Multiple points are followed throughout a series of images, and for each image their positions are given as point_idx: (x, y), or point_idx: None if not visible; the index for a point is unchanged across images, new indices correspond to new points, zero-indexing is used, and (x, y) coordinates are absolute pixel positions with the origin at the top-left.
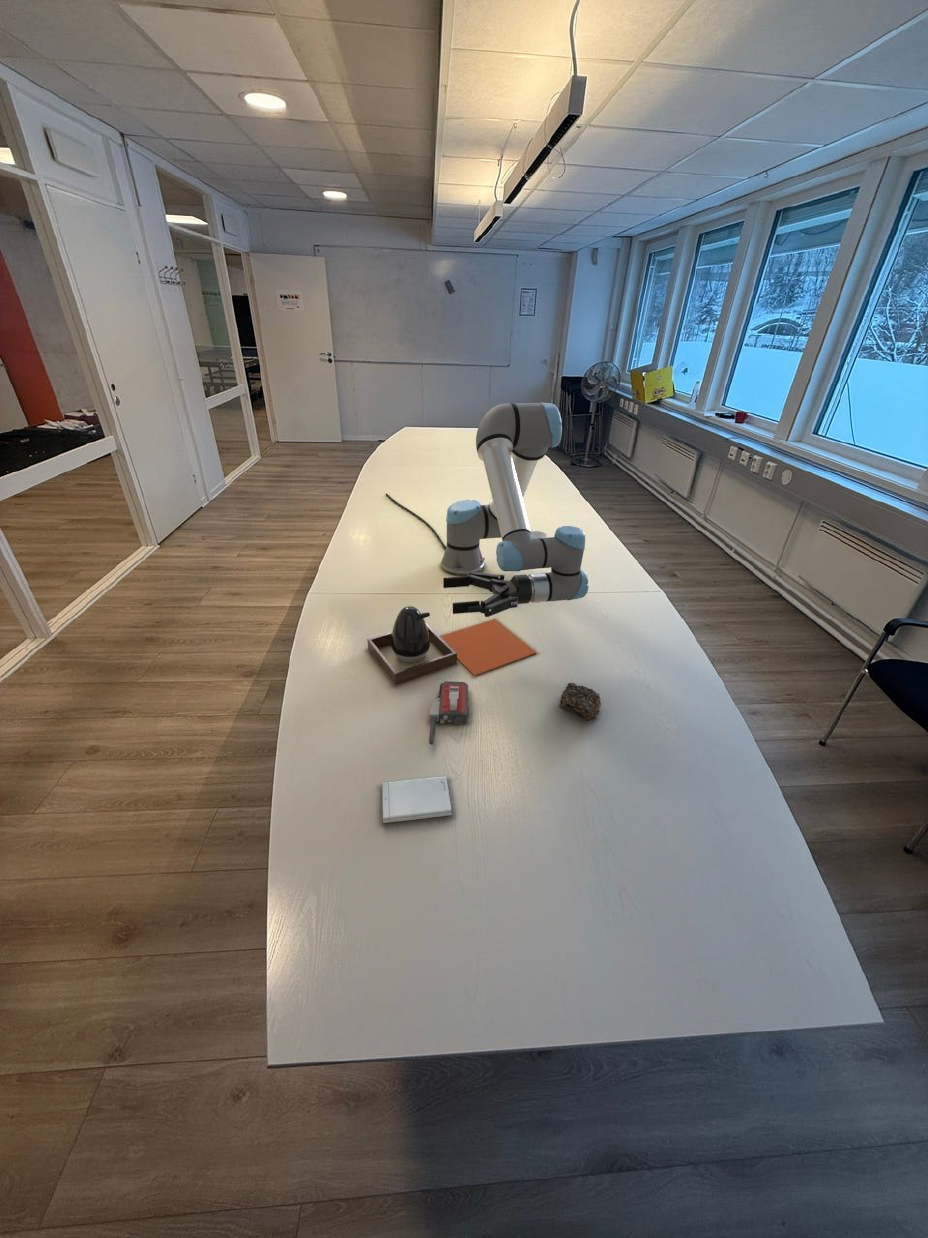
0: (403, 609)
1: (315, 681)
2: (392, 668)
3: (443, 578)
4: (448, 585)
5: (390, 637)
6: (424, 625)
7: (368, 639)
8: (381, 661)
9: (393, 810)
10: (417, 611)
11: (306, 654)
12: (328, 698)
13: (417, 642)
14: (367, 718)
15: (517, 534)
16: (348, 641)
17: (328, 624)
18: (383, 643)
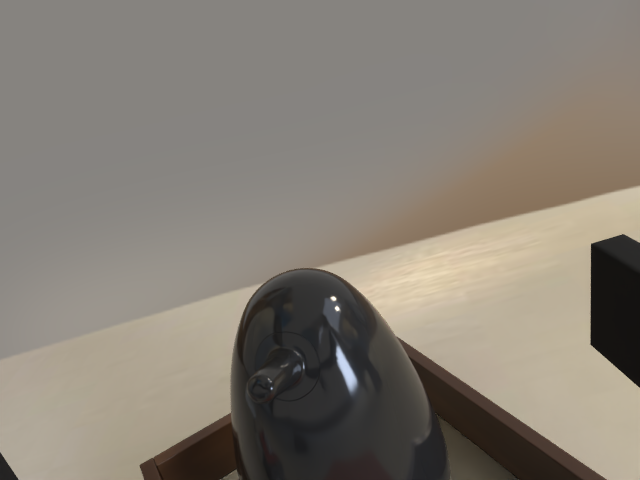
0: (289, 270)
1: (232, 314)
2: (179, 446)
3: (608, 239)
4: (630, 352)
5: (436, 388)
6: (288, 434)
7: None
8: None
9: None
10: (287, 327)
11: (347, 265)
12: (155, 357)
13: (239, 468)
14: (26, 465)
15: None
16: (428, 308)
17: (505, 247)
18: None
